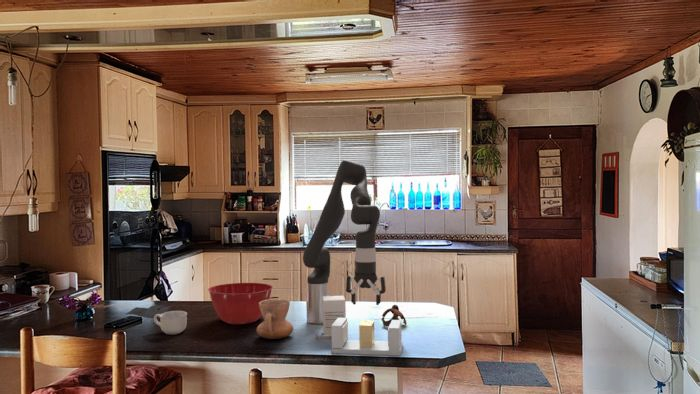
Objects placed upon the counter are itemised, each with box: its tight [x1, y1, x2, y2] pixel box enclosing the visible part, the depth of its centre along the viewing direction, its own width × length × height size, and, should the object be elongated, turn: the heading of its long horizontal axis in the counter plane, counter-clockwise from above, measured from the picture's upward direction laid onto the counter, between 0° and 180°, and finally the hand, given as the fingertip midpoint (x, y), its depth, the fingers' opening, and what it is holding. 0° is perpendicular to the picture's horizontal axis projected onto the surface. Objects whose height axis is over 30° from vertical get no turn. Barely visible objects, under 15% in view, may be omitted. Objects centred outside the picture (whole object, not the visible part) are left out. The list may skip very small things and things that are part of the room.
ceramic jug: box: [256, 298, 294, 340], centre depth 213 cm, size 18×14×14 cm
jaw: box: [315, 317, 349, 349], centre depth 197 cm, size 10×12×8 cm
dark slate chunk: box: [125, 305, 173, 319], centre depth 255 cm, size 15×22×5 cm
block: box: [358, 320, 375, 348], centre depth 195 cm, size 4×7×8 cm, turn 170°
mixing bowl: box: [207, 282, 273, 325], centre depth 240 cm, size 28×28×16 cm
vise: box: [331, 319, 404, 356], centre depth 195 cm, size 24×12×10 cm, turn 80°
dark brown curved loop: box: [381, 304, 407, 327], centre depth 229 cm, size 12×9×8 cm
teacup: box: [153, 310, 188, 335], centre depth 223 cm, size 14×11×8 cm
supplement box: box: [322, 295, 347, 336], centre depth 216 cm, size 9×9×15 cm
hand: (365, 304), depth 195 cm, fingers open, 8 cm apart
